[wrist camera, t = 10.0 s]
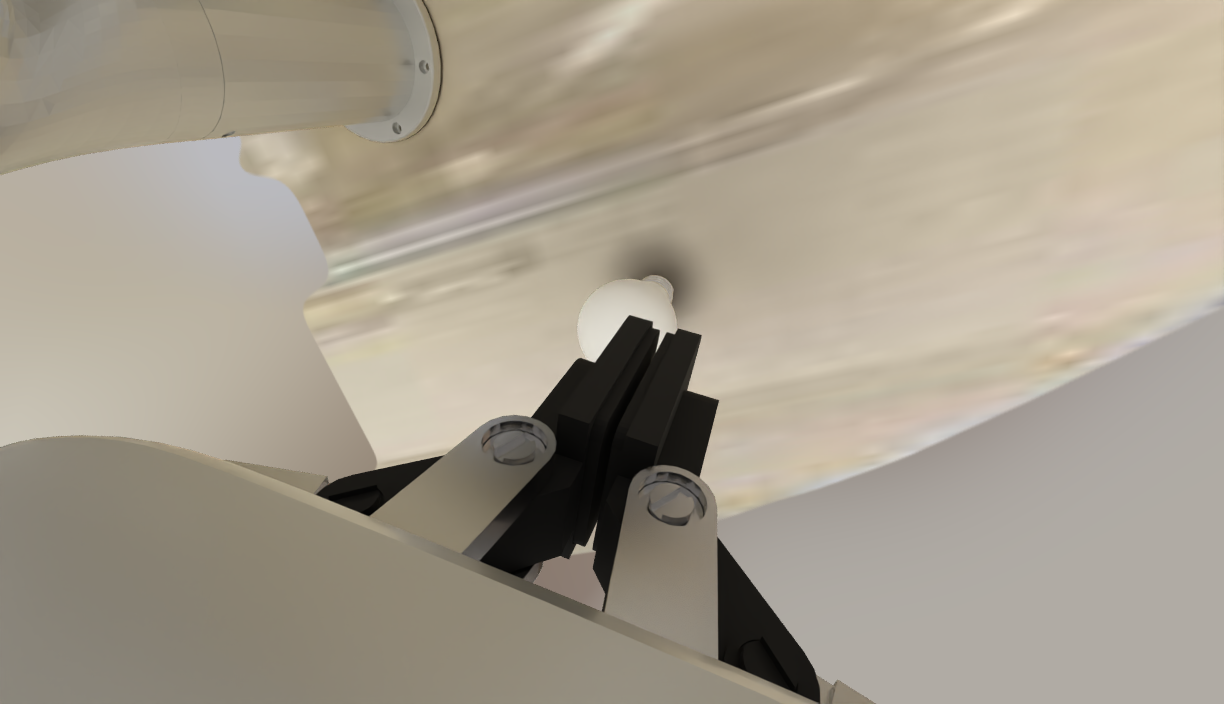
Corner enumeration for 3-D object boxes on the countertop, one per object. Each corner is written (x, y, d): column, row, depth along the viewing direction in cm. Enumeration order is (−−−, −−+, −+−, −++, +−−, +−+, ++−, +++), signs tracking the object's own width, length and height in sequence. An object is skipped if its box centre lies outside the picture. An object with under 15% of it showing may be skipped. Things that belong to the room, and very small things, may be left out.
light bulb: (707, 257, 37) (670, 315, 28) (692, 336, 41) (654, 410, 31) (623, 240, 39) (562, 289, 30) (615, 317, 42) (558, 382, 33)
